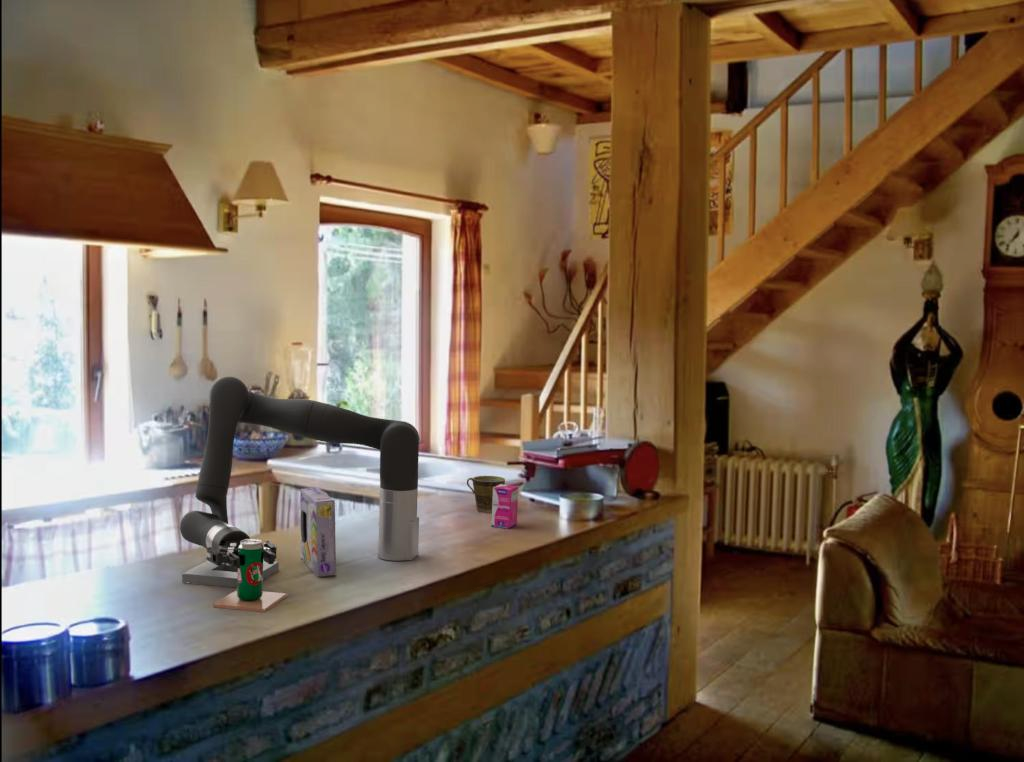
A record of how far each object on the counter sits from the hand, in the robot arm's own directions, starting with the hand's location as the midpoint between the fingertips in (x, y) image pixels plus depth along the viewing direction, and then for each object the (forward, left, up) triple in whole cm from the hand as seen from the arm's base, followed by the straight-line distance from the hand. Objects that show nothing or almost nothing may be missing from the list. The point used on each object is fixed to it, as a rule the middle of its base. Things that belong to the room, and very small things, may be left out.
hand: (255, 561), depth 202 cm
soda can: (+2, -2, -9) cm, 9 cm away
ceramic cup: (-25, -107, -9) cm, 110 cm away
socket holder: (+14, -18, -9) cm, 24 cm away
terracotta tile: (+2, -2, -9) cm, 9 cm away
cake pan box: (-1, -31, -9) cm, 32 cm away
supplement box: (-35, -88, -9) cm, 95 cm away
